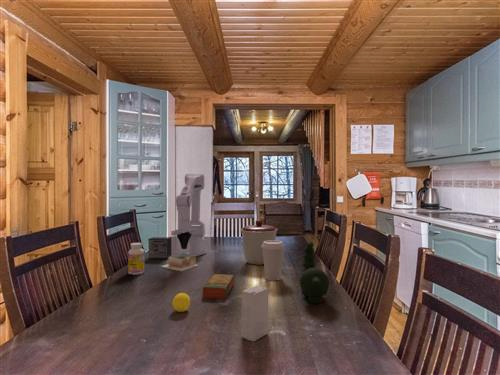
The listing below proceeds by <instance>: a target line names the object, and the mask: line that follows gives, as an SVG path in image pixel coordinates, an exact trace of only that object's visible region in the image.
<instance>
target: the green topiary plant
mask: <svg viewBox="0 0 500 375" xmlns="http://www.w3.org/2000/svg"><path fill="white" fill-rule="evenodd" d="M305 245H306V247H304V249H303V251H304V254H303V255H302V258H303V259H304V262H303V263H302V267H304V268H303V271H302V274H301V276H300V279H299V286H300V288H301V295H303V296H305V297H307V296H308V297H307V300H308V302H309V303H310V302H311V303H310V304H314V303H317V304H320V303H321V302H322V299H323V298H322V296H324V295H326V294H327V293H328V290H329V287H330V280H329V277H328V275H327V274H326V273H325V271H323V270H322V269H320V268H318V267H316V262H315V258H316V256H315V254H314V252H315V250H314V243H313V242H312V241H307V243H306V244H305Z"/></svg>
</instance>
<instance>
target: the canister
mask: <svg viewBox="0 0 500 375" xmlns="http://www.w3.org/2000/svg"><path fill="white" fill-rule="evenodd" d="M263 223H264V222H263V220H262V219H257V220H255V224H249V225H244V226H243V227H242V228H240V232H241V235H242V246H243V253H244V259H245V261H246V263H248V264H250V265H254V264H255V266H256V265H257V266H262V265H263V264H264V260H263V248H262V247H261V246H262V244H263V242H264V241H269V240H276V239H277V238H276V236H277V232H278V228H276V227H275V226H274V225H269V224H263ZM263 266H264V265H263Z"/></svg>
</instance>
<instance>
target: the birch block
mask: <svg viewBox="0 0 500 375" xmlns="http://www.w3.org/2000/svg"><path fill="white" fill-rule="evenodd" d="M168 264H169V266H173V267H178V268H183V267H186V266H190V265H193V264H196V265H197V256H196V255H191V254H186V253H180V254H179V253H178V254H176V255H172V256H171V257H169V258H168Z"/></svg>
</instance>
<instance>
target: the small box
mask: <svg viewBox="0 0 500 375" xmlns="http://www.w3.org/2000/svg"><path fill="white" fill-rule="evenodd" d="M147 240H148V259H149V260H155V259H156V260H169V257H171V256H173V255H172V254H173V253H172V237H171V236H170V237H169V236H168V237H166V236H165V237H162V236H161V237H160V236H157V237H155V236H153V237H150V238H148V239H147Z"/></svg>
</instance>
